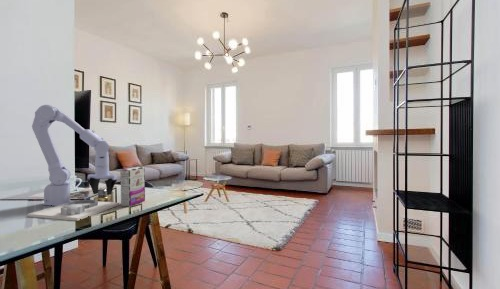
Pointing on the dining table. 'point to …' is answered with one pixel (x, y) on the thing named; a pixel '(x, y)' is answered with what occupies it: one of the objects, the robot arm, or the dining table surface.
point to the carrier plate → (74, 210)
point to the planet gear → (102, 195)
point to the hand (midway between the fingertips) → (102, 194)
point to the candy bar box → (132, 186)
